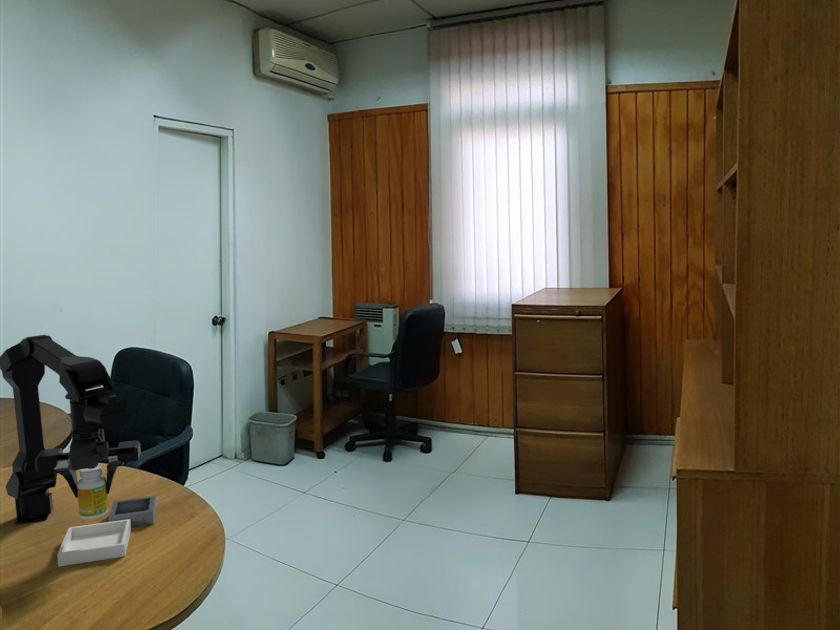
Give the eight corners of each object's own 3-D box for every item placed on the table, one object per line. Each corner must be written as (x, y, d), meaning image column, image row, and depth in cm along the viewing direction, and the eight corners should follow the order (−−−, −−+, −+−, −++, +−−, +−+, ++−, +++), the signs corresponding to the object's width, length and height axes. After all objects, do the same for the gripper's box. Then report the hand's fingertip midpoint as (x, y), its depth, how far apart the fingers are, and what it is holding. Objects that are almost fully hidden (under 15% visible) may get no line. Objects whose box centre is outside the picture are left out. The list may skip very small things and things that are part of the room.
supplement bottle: (96, 520, 128) (93, 474, 127) (73, 518, 129) (69, 472, 128) (114, 509, 134) (111, 465, 132) (91, 506, 135) (88, 463, 133)
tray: (58, 566, 125) (57, 554, 124) (70, 538, 136) (69, 527, 136) (125, 556, 129) (124, 544, 128) (131, 530, 140) (130, 519, 140)
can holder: (109, 530, 140) (108, 517, 139) (114, 513, 148) (113, 501, 148) (153, 524, 143) (152, 511, 142) (156, 507, 151) (155, 495, 151)
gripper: (24, 439, 118) (31, 518, 120) (133, 429, 124) (138, 504, 126) (38, 422, 129) (44, 495, 131) (138, 413, 135) (143, 483, 137)
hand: (92, 495), depth 131 cm, fingers closed on supplement bottle, 5 cm apart
